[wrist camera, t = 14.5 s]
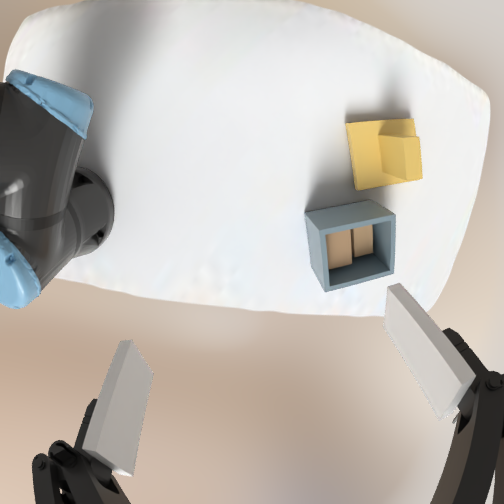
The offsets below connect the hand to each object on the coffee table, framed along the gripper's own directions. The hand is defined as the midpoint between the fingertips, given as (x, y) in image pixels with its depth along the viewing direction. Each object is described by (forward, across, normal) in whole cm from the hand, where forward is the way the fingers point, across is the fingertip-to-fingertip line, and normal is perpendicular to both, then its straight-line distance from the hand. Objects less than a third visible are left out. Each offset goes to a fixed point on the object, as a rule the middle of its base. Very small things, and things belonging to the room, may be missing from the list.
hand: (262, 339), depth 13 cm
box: (+31, +15, -10) cm, 36 cm away
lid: (+30, +24, +3) cm, 38 cm away
